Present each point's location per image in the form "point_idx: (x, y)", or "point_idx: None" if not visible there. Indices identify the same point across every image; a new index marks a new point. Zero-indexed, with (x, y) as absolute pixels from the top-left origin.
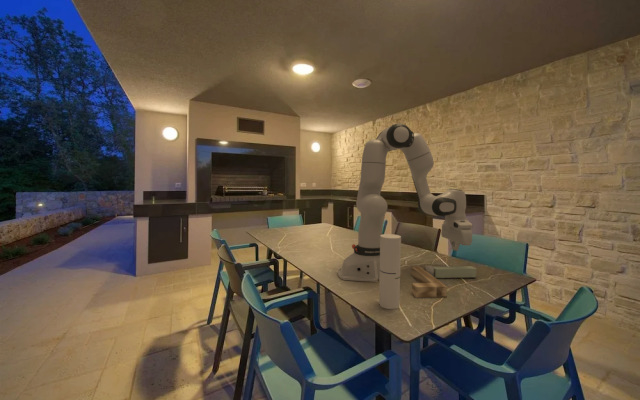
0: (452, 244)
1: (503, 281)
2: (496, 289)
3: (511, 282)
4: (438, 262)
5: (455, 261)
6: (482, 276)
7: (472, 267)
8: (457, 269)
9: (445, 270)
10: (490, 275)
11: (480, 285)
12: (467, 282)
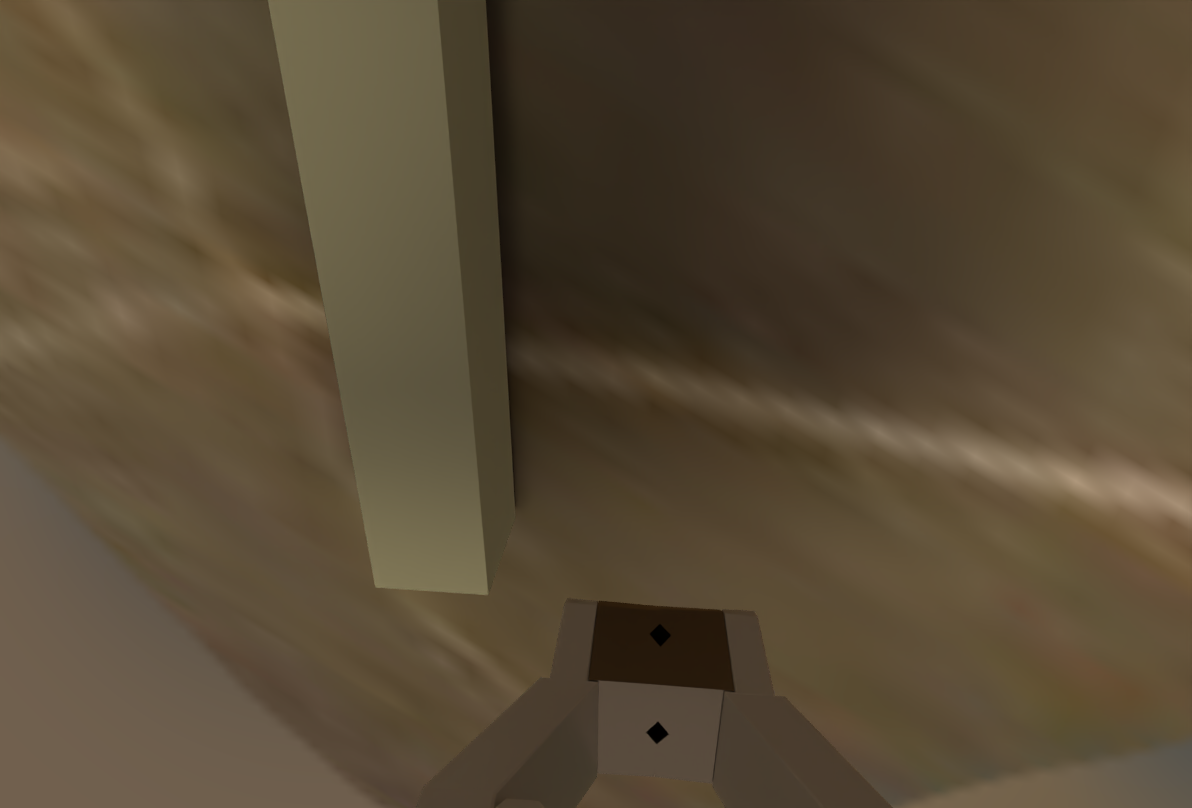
0: (763, 763)
1: (360, 685)
2: (120, 495)
3: (343, 724)
4: (1163, 400)
5: (1092, 655)
6: (492, 604)
7: (428, 573)
8: (325, 299)
9: (289, 38)
10: (524, 689)
11: (197, 411)
12: (268, 319)
